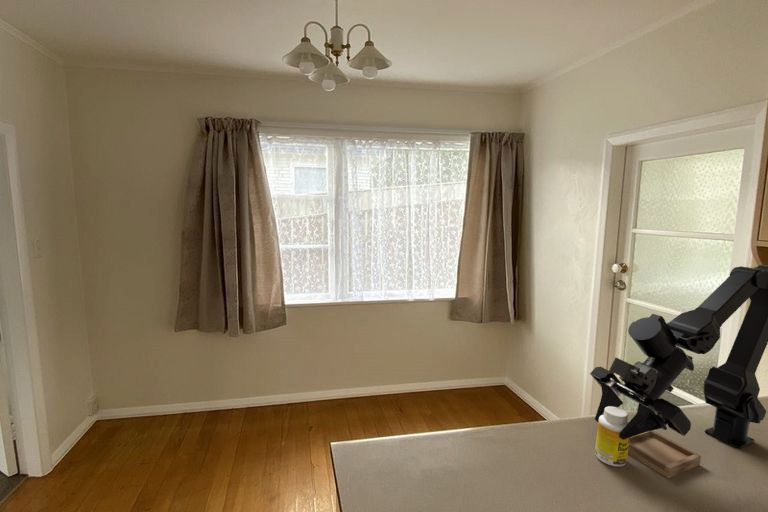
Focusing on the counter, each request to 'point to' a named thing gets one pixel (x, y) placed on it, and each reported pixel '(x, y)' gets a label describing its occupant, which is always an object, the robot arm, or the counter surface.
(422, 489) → the counter surface
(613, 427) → the supplement bottle
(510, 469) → the counter surface
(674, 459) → the walnut tray
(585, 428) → the counter surface
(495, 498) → the counter surface
